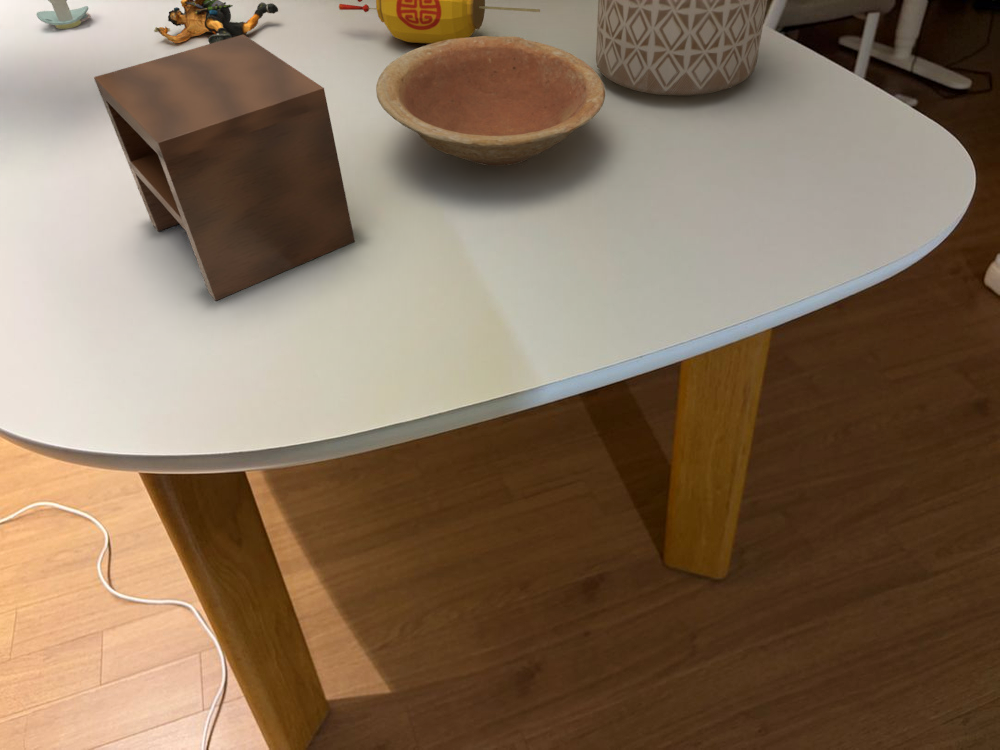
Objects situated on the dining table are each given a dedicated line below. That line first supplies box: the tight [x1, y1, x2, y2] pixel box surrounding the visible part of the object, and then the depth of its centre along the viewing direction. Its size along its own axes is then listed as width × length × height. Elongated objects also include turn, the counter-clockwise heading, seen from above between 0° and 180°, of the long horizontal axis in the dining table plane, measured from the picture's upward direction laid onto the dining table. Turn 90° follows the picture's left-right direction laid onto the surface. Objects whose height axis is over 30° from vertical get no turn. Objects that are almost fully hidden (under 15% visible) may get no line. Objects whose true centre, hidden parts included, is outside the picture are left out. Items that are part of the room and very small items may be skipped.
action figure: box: [153, 0, 279, 44], centre depth 113 cm, size 6×15×15 cm
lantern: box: [338, 0, 541, 45], centre depth 108 cm, size 10×10×30 cm
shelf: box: [93, 35, 356, 301], centre depth 73 cm, size 14×16×15 cm
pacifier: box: [35, 0, 92, 30], centre depth 120 cm, size 7×6×6 cm
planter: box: [595, 0, 768, 96], centre depth 94 cm, size 19×19×16 cm
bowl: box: [375, 35, 606, 167], centre depth 85 cm, size 24×24×8 cm
